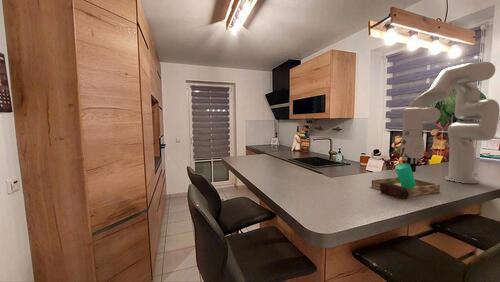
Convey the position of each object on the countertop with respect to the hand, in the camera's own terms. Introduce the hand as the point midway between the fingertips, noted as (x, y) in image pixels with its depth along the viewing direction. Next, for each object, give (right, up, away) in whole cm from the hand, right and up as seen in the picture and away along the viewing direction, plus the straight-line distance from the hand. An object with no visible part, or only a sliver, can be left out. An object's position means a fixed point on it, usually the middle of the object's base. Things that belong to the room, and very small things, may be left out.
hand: (411, 171), depth 101 cm
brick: (-15, -10, -9) cm, 20 cm away
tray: (-4, -9, -1) cm, 9 cm away
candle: (-1, -7, 0) cm, 7 cm away
